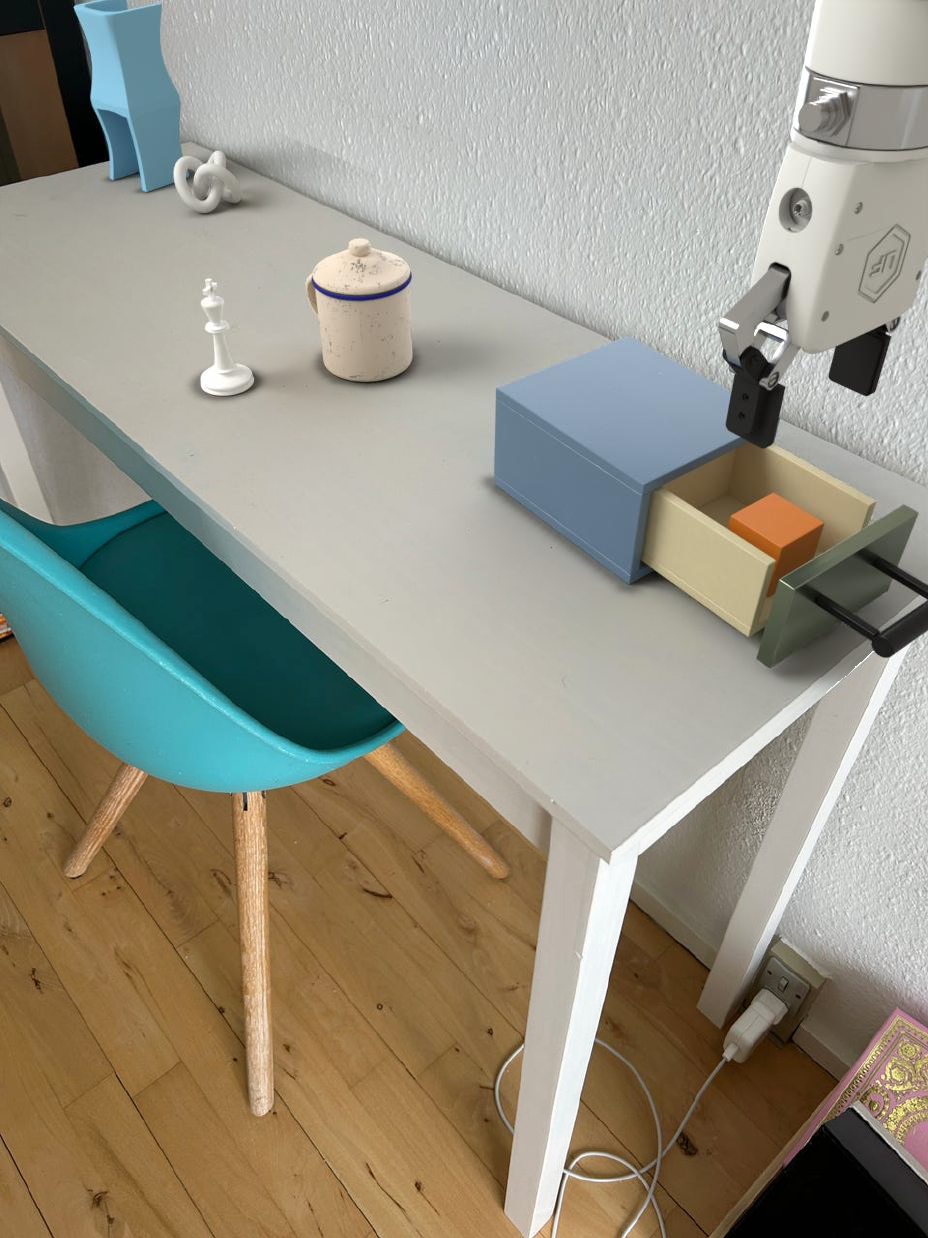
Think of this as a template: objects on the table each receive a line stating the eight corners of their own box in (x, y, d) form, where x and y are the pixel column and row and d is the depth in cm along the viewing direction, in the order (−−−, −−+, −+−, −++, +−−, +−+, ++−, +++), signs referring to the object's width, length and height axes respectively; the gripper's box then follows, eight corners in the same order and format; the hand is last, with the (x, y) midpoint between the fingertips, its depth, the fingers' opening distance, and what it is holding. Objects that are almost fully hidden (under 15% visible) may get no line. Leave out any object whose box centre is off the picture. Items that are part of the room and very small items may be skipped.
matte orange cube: (760, 541, 71) (773, 491, 68) (809, 572, 68) (825, 522, 65) (719, 565, 69) (730, 514, 66) (767, 598, 66) (782, 547, 63)
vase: (194, 175, 132) (162, 3, 118) (146, 191, 127) (108, 15, 114) (157, 162, 135) (122, -6, 122) (109, 178, 131) (68, 5, 117)
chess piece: (190, 390, 91) (168, 286, 84) (219, 365, 94) (199, 264, 87) (236, 400, 89) (217, 295, 82) (263, 375, 93) (247, 272, 86)
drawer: (962, 636, 65) (1000, 557, 60) (843, 723, 60) (876, 643, 55) (730, 493, 77) (747, 417, 72) (613, 554, 71) (623, 476, 67)
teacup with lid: (434, 357, 95) (431, 238, 87) (370, 395, 90) (361, 272, 82) (345, 321, 101) (335, 206, 93) (280, 355, 95) (263, 236, 87)
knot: (258, 198, 126) (251, 150, 122) (225, 221, 120) (217, 171, 116) (207, 191, 128) (199, 143, 124) (173, 212, 122) (163, 163, 118)
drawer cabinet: (756, 514, 77) (780, 417, 70) (629, 585, 70) (644, 484, 64) (616, 428, 86) (627, 335, 80) (493, 483, 80) (495, 387, 74)
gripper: (825, 163, 43) (755, 488, 54) (1038, 93, 50) (937, 391, 62) (697, 125, 47) (657, 433, 59) (910, 66, 55) (838, 349, 66)
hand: (801, 411), depth 60 cm, fingers open, 9 cm apart
